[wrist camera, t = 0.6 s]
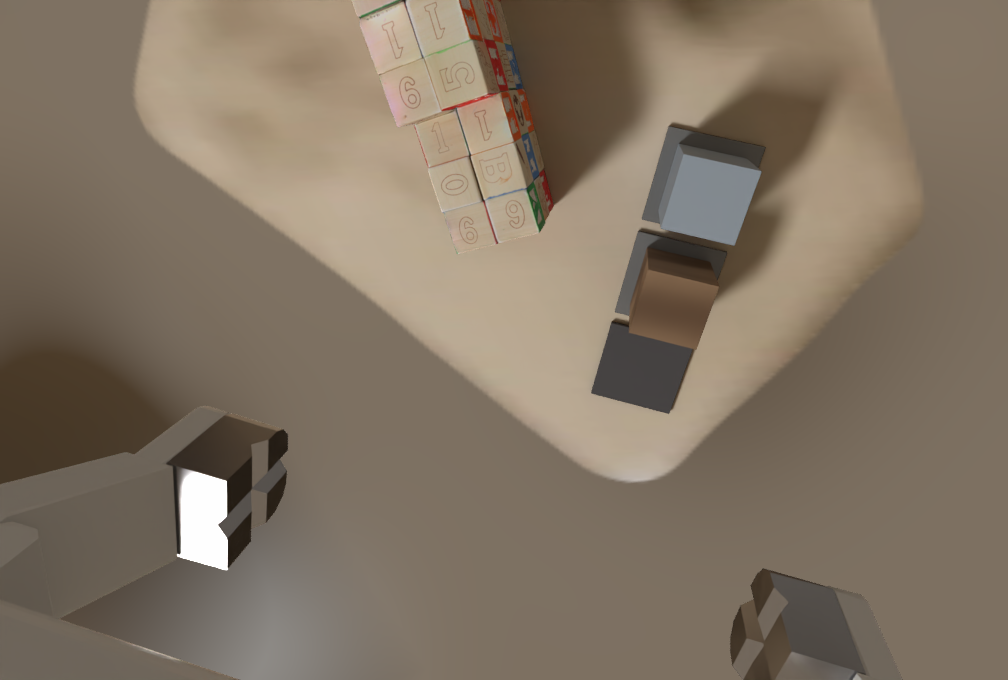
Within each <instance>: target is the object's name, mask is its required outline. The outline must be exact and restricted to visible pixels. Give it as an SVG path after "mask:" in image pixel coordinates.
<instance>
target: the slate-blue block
mask: <svg viewBox="0 0 1008 680" xmlns="http://www.w3.org/2000/svg"><path fill="white" fill-rule="evenodd" d="M761 172H762V171H761V170H760V169H758V168H757V167H756V166H755V165H754V164H753V163H751V162H750V161H749V160H748V159H747V158H742V157H737V156H733V155H728V154H724V153H719V152H715V151H710V150H706V149H701V148H696V147H692V146H687V145H683V144H678V147H677V150H676V153H675V156H674V160H673V163H672V166H671V170H670V173H669V176H668V180H667V183H666V186H665V190H664V193H663V196H662V200H661V203H660V206H659V210H658V211H659V218H660V226H661V229H665V230H669V231H673V232H678V233H682V234H686V235H691V236H695V237H699V238H703V239H708V240H712V241H716V242H720V243H725V244H729V245H733V246H734V245H735V243H736V240H737V237H738V234H739V232H740V229H741V226H742V224H743V221H744V218H745V215H746V213H747V210H748V207H749V205H750V202H751V199H752V196H753V194H754V191H755V188H756V185H757V183H758V180H759V177H760V175H761Z"/></svg>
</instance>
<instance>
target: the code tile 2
mask: <svg viewBox="0 0 1008 680" xmlns="http://www.w3.org/2000/svg"><path fill="white" fill-rule="evenodd" d="M678 144H683V145H687V146H692V147H696V148H701V149H706V150H710V151H715V152H719V153H724V154H728V155H733V156H737V157H742V158H747V159H748V160H749V161H750V162H751V163H753V164H754V165H755V166H756V167H757V168H758V167H759V165H760V162H761V159H762V156H763V154H764V151H765V148H766V147H763V146H758V145H754V144H749V143H744V142H740V141H735V140H730V139H726V138H721V137H717V136H712V135H707V134H703V133H698V132H694V131H689V130H684V129H680V128H675V127H671V126H669V127H668V131H667V134H666V137H665V141H664V144H663V148H662V151H661V155H660V158H659V162H658V165H657V168H656V172H655V175H654V179H653V182H652V186H651V189H650V192H649V196H648V199H647V203H646V206H645V210H644V213H643V216H642V220H646V221H651V222H655V223H659V224H660V218H659V211H658V210H659V206H660V203H661V200H662V196H663V193H664V190H665V186H666V183H667V180H668V176H669V173H670V170H671V166H672V163H673V160H674V156H675V153H676V150H677V147H678Z"/></svg>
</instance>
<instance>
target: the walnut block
mask: <svg viewBox="0 0 1008 680" xmlns="http://www.w3.org/2000/svg"><path fill="white" fill-rule="evenodd" d="M718 289H719V285H718V282H717V279H716V276H715V274H714V271H713V268H712V265H711V263H710V262H708V261H704V260H700V259H696V258H692V257H687V256H683V255H679V254H675V253H671V252H666V251H662V250H658V249H654V248H650V247H647V249H646V253H645V256H644V259H643V263H642V266H641V269H640V273H639V276H638V279H637V282H636V286H635V289H634V292H633V296H632V299H631V302H630V315H629V333H632V334H636V335H640V336H644V337H648V338H652V339H656V340H660V341H664V342H668V343H672V344H676V345H680V346H684V347H688V348H691V349H695V350H696V349H697V346H698V343H699V341H700V338H701V335H702V333H703V330H704V327H705V324H706V322H707V319H708V316H709V313H710V311H711V308H712V305H713V303H714V300H715V297H716V294H717V292H718Z"/></svg>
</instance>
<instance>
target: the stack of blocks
mask: <svg viewBox="0 0 1008 680" xmlns="http://www.w3.org/2000/svg"><path fill="white" fill-rule="evenodd" d="M351 1H352V3H353V6H354V9H355V11H356V14H357V16H358V17H359V18H360V22H359V25H360V28H361V31H362V34H363V36H364V39H365V42H366V44H367V47H368V50H369V53H370V55H371V58H372V61H373V64H374V67H375V69H376V71H377V73H378V74H379V76H380V81H381V84H382V87H383V90H384V92H385V95H386V98H387V101H388V103H389V106H390V109H391V112H392V114H393V117H394V120H395V123H396V125H397V127H402V126H407V125H413V124H414V127H415V130H416V133H417V136H418V139H419V142H420V145H421V148H422V151H423V154H424V157H425V160H426V163H427V165H428V173H429V176H430V179H431V182H432V185H433V188H434V191H435V194H436V197H437V200H438V203H439V206H440V209H441V211H442V212H443V213H444V216H445V219H446V222H447V225H448V228H449V231H450V235H451V238H452V240H453V244H454V247H455V250H456V253H457V254H461V253H465V252H469V251H472V250H476V249H480V248H484V247H488V246H492V245H496V244H498V243H501V242H505V241H510V240H514V239H518V238H521V237H525V236H529V235H533V234H537V233H539V232H540V231H541V229H542V228H543V226H544V224H545V220H546V219H547V217H548V216H549V213H550V211H551V210H552V208H553V206H554V205H553V201H552V197H551V194H550V190H549V186H548V183H547V179H546V176H545V171H544V170H543V168H544V163H543V160H542V156H541V152H540V148H539V144H538V140H537V137H536V133H535V130H534V125H533V120H532V117H531V113H530V109H529V105H528V101H527V97H526V93H525V90H524V89H523V86H522V82H521V78H520V74H519V70H518V66H517V63H516V59H515V55H514V51H513V48H512V46H511V40H510V36H509V33H508V29H507V25H506V21H505V17H504V13H503V10H502V6H501V0H351Z"/></svg>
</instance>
